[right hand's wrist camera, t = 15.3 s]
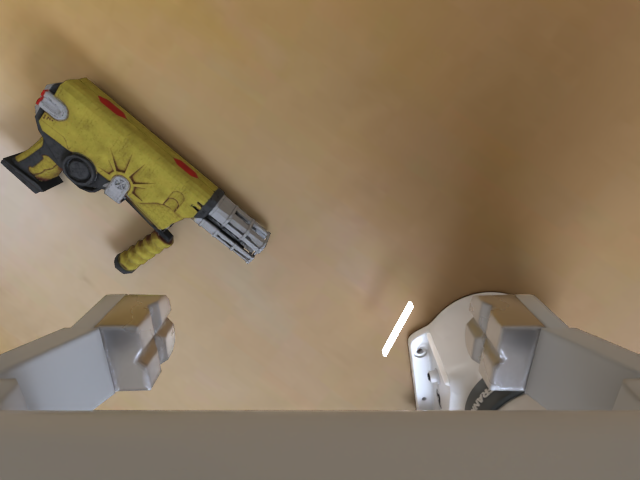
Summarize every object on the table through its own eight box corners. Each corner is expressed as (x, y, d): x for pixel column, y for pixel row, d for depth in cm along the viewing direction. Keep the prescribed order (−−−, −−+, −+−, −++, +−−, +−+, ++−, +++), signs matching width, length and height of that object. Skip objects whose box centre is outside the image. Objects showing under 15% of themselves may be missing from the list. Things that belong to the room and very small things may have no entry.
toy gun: (184, 327, 44) (266, 247, 38) (-21, 189, 36) (46, 68, 31) (197, 302, 48) (273, 227, 42) (16, 175, 41) (80, 66, 35)
